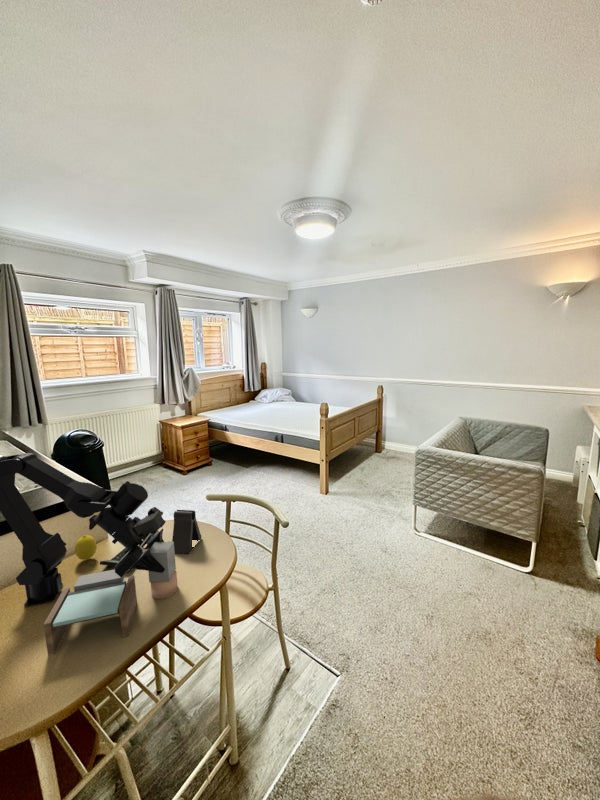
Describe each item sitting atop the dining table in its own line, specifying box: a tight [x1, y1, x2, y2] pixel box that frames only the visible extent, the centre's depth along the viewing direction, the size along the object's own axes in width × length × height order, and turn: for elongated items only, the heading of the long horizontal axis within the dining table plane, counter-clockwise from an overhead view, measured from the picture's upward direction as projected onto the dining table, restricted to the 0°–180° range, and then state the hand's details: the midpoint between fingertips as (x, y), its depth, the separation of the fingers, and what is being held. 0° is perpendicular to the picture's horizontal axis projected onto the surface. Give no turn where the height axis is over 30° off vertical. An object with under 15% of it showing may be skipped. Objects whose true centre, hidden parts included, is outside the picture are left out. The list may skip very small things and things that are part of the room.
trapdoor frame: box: [43, 574, 138, 656], centre depth 77 cm, size 15×11×7 cm
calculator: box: [99, 547, 147, 567], centre depth 102 cm, size 9×12×3 cm
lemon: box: [74, 534, 98, 561], centre depth 102 cm, size 6×6×8 cm
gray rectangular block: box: [147, 541, 177, 583], centre depth 87 cm, size 5×5×8 cm
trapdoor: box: [53, 569, 127, 627], centre depth 77 cm, size 12×14×2 cm
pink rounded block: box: [150, 570, 179, 600], centre depth 88 cm, size 6×6×4 cm
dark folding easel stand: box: [171, 509, 203, 555], centre depth 108 cm, size 9×6×12 cm, turn 171°
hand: (167, 564), depth 87 cm, fingers closed on gray rectangular block, 5 cm apart
